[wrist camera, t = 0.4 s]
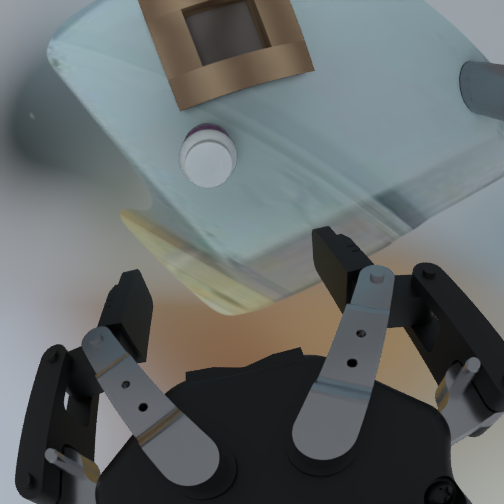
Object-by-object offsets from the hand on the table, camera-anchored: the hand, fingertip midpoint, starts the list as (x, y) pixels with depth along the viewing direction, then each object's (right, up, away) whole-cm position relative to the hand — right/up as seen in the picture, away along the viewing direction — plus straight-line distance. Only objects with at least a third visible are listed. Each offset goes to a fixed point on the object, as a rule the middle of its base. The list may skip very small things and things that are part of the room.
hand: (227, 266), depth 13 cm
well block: (-2, +24, +11) cm, 27 cm away
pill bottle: (-4, +13, +18) cm, 22 cm away
